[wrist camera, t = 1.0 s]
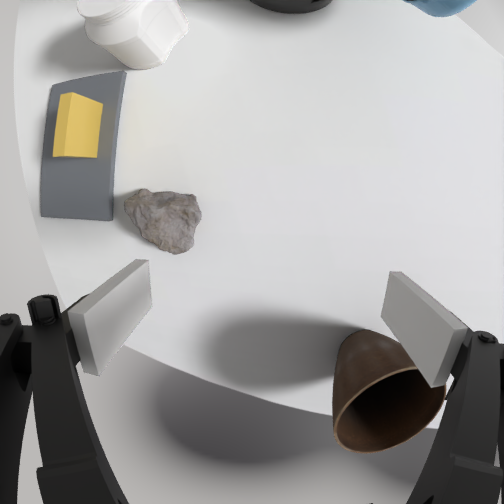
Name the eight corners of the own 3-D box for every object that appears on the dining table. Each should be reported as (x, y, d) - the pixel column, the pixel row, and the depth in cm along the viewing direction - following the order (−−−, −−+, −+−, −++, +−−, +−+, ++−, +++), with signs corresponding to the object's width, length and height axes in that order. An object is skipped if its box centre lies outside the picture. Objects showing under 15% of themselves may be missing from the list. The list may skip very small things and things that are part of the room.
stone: (130, 231, 39) (111, 239, 33) (146, 177, 37) (128, 177, 32) (192, 256, 40) (181, 268, 34) (211, 200, 38) (203, 204, 32)
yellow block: (91, 105, 33) (59, 94, 26) (103, 104, 33) (72, 92, 26) (85, 158, 35) (51, 156, 28) (96, 157, 35) (64, 155, 28)
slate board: (56, 86, 33) (52, 84, 32) (126, 73, 33) (123, 70, 32) (45, 215, 39) (41, 216, 38) (112, 219, 39) (108, 221, 37)
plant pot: (296, 367, 44) (308, 443, 28) (349, 291, 40) (391, 351, 25) (365, 392, 45) (392, 458, 29) (416, 327, 41) (465, 382, 26)
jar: (153, 78, 34) (103, 37, 19) (108, 58, 32) (53, 23, 18) (200, 18, 31) (174, -41, 16) (151, 3, 30) (114, -48, 15)
